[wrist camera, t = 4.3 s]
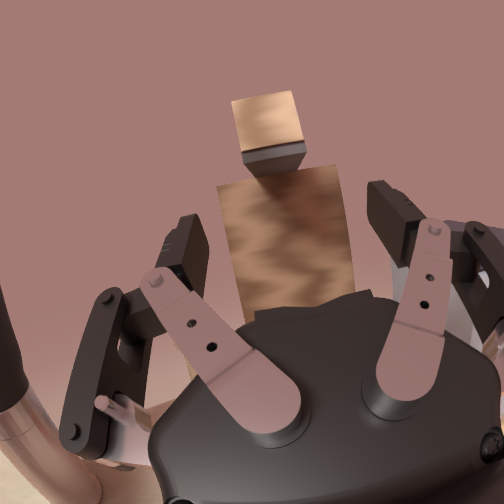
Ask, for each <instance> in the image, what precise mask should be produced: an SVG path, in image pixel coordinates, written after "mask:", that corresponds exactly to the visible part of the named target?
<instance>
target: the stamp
mask: <svg viewBox="0 0 504 504" xmlns="http://www.w3.org/2000/svg"><path fill="white" fill-rule="evenodd" d="M232 108H233V112H234V117H235V122H236V127H237V132H238V137H239V141H240V146H241V151H242V152H241V154H242V158H243V163H244V165H245V166H246V167H247V168H248V170H249V171H250V172H251V173H252V174H253V176H254V177H255V178H258V177H263V176H268V175H273V174H278V173H284V172H290V171H295V170H297V169H298V167H299V166H300V164H301V162H302V160H303V158H304V156H305V154H306V153H307V150H306V146H305V142H304V139H303V135H302V131H301V127H300V122H299V118H298V115H297V111H296V107H295V103H294V100H293V96H292V93H291V91H284V92H278V93H272V94H266V95H261V96H256V97H251V98H246V99H241V100H237V101H232Z"/></svg>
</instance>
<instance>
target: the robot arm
mask: <svg viewBox="0 0 504 504" xmlns="http://www.w3.org/2000/svg"><path fill="white" fill-rule="evenodd" d="M367 216H368V220H369V223H370V224H371V226H372V227H373V229H374V231H375V232H376V234H377V235H378V237H379V238H380V240H381V241H382V243H383V244H384V246H385V248H386V249H387V251H388V253H389V254H390V256H391V258H392V259H393V261H394V263H395V264H396V266H397V268H398V269H399V268H403V267H408V268H409V272H408V275H407V279H406V283H405V286H404V290H403V293H402V296H401V300H400V303H399V302H396V301H394V300H390V299H386V298H378V297H373V295H372V292H371V290H370V289H368V290H364V291H359V292H354V293H350V294H345V295H342V296H340V297H337V298H335V299H333V300H330V301H328V302H326V303H324V304H321V305H319V306H316V307H289V306H282V307H277V308H271V309H264V310H258V311H254V319H255V320H253V321H251V322H249V323H247V324H245V325H243V326H241V327H240V328H238V329H237V330H236V331H234V330H233V329H232V328H231V327H230V326H229V325H228V324H227V323H226V322H224V320H223V319H222V318H220V317H219V316H218V314H217V313H216V312H215V311H213V309H212V308H211V307H209V305H208V304H207V303H206V302H205V301H204V300H203V295H204V287H205V280H206V273H207V265H208V259H209V245H208V241H207V238H206V235H205V233H204V230H203V227H202V225H201V222H200V219H199V217H198V215H197V214H192V215H187V216H183V217H181V218H180V220H179V223H178V226H177V228H176V229H173V230H172V231H171V232H170V233H169V234H168V235H167V236H166V238H165V241H164V245H163V246H162V249H161V252H160V255H159V257H158V260H157V263H156V266H155V269H153V270H151V271H149V272H148V273H147V274H145V276H144V277H143V278H142V279H141V281H140V287H139V288H137V289H136V290H133V291H131V292H128V293H126V294H123V292H122V291H121V289H120V288H117V287H112V288H109V289H107V290H105V291H103V292H102V293H101V294H100V295H99V296H98V297H97V299H96V301H95V303H94V306H93V308H92V311H91V314H90V316H89V319H88V322H87V325H86V328H85V331H84V334H83V337H82V340H81V343H80V346H79V349H78V352H77V356H76V359H75V362H74V366H73V370H72V373H71V377H70V381H69V385H68V389H67V393H66V397H65V402H64V406H63V411H62V416H61V422H60V427H59V430H58V429H57V427H56V426H55V424H54V423H53V421H52V420H51V418H50V417H49V415H48V414H47V412H46V410H45V409H44V407H43V406H42V404H41V403H40V401H39V399H38V397H37V396H36V394H35V392H34V390H33V388H32V387H31V385H30V383H29V381H28V379H27V377H26V375H25V373H24V371H23V365H22V357H21V352H20V349H19V345H18V342H17V340H16V337H15V334H14V331H13V328H12V325H11V322H10V318H9V315H8V312H7V308H6V304H5V301H4V298H3V293H2V290H1V286H0V449H1V451H2V452H3V453H4V454H5V456H6V457H7V458H8V459H9V460H10V462H11V463H12V464H13V465H14V466H15V467H16V468H17V470H18V471H19V472H20V473H21V474H22V475H23V476H24V477H25V478H26V479H27V480H28V481H29V482H30V483H31V484H32V485H33V486H34V487H35V488H36V489H37V490H38V491H39V492H40V493H41V494H42V495H43V496H44V497H45V498H46V499H47V500H48V501H49V502H51V503H52V504H98V503H99V501H100V499H101V496H102V487H101V483H100V482H99V480H98V479H97V478H96V476H95V475H94V474H93V473H92V472H91V471H90V470H89V469H88V468H87V466H86V465H85V464H84V463H83V462H82V460H81V459H80V458H79V457H78V456H80V457H83V458H85V459H88V460H91V461H93V462H96V463H99V464H102V465H105V466H108V467H111V468H114V469H118V470H121V471H131V470H133V469H135V468H136V467H139V468H147V469H153V470H154V472H155V474H156V477H157V479H158V482H159V485H160V488H161V492H162V496H163V504H504V435H503V433H502V429H501V420H500V401H501V397H502V396H504V246H503V245H502V243H501V242H500V241H499V240H498V239H497V237H496V236H495V235H494V234H493V233H492V232H491V230H490V229H489V228H488V227H487V226H485V225H484V224H482V223H480V222H476V221H469V222H467V223H466V224H465V228H464V232H459V231H450V228H449V227H448V225H447V224H445V223H444V222H442V221H440V220H438V219H433V218H427V217H426V216H425V215H424V214H423V213H422V212H421V211H420V210H419V209H418V208H417V207H416V206H415V205H414V204H413V202H411V201H410V200H409V198H408V197H407V196H406V195H405V194H404V193H402V192H400V191H398V190H396V189H392V188H391V187H390V186H389V185H388V184H387V183H386V182H385V181H384V180H379V181H372V182H369V183H368V186H367ZM481 266H482V267H483V269H484V270H485V272H486V273H487V275H488V278H489V287H488V288H487V286H486V285H485V283H484V282H483V280H482V278H481V277H480V275H479V274H478V272H479V270H480V267H481ZM451 283H452V284H453V286H454V288H455V290H456V292H457V293H458V295H459V297H460V299H461V301H462V303H463V304H464V306H465V308H466V310H467V312H468V314H469V316H470V318H471V320H472V322H473V324H474V327H475V329H476V331H477V333H478V335H479V337H480V340H481V342H482V344H483V347H482V353H481V352H480V351H478V350H477V349H475V348H473V347H472V346H470V345H469V344H467V343H465V342H464V341H462V340H461V339H459V338H457V337H456V336H454V335H453V334H451V333H449V332H448V331H446V330H445V324H446V318H447V311H448V305H449V297H450V288H451ZM166 332H168V334H169V335H170V336H171V338H172V339H173V341H174V342H175V344H176V345H177V347H178V348H179V349H180V351H181V352H182V353H183V355H184V356H185V358H186V359H187V360H188V362H189V363H190V364H191V366H192V367H193V368H194V370H195V371H196V372H197V375H196V376H195V378H194V379H193V380H192V381H191V382H190V384H189V385H188V386H187V387H186V388H185V389H184V391H183V392H182V393H181V394H180V395H179V396H178V398H177V399H176V400H175V401H174V402H173V403H172V405H171V406H170V407H169V408H168V409H167V410H166V412H165V413H164V414H163V415H162V416H161V417H160V418H159V420H158V421H157V422H156V423H155V425H154V426H153V427H152V424H151V417H150V414H149V413H148V411H147V410H146V409H144V400H145V391H146V382H147V375H148V368H149V360H150V354H151V347H152V341H153V338H154V337H156V336H159V335H161V334H164V333H166ZM119 339H120V340H121V342H120V346H119V350H117V345H118V341H119Z"/></svg>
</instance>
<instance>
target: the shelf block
mask: <svg viewBox="0 0 504 504" xmlns="http://www.w3.org/2000/svg"><path fill="white" fill-rule="evenodd" d="M217 192H218V197H219V202H220V207H221V212H222V216H223V222H224V226H225V231H226V236H227V240H228V246H229V250H230V255H231V259H232V264H233V269H234V274H235V278H236V283H237V287H238V292H239V296H240V301H241V305H242V310H243V314H244V318H245V323H246V324H247V323H249V322H251V321H253V320H255V319H254V311H258V310H264V309H271V308H277V307H282V306H289V307H316V306H319V305H321V304H324V303H326V302H328V301H330V300H333V299H335V298H337V297H340V296H342V295H345V294H350V293H354V292H355V284H354V274H353V266H352V257H351V249H350V242H349V236H348V228H347V222H346V215H345V209H344V204H343V198H342V193H341V188H340V183H339V177H338V173H337V168H336V164H333V165H327V166H320V167H314V168H307V169H301V170H295V171H290V172H284V173H278V174H273V175H268V176H263V177H258V178H253V179H248V180H243V181H239V182H234V183H229V184H225V185H220V186H217Z"/></svg>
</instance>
